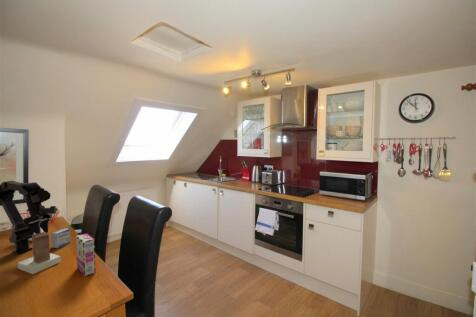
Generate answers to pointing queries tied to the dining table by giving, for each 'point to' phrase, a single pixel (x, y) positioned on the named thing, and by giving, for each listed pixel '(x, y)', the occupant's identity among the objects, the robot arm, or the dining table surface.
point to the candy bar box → (85, 254)
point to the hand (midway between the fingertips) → (43, 234)
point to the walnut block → (41, 247)
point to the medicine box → (60, 238)
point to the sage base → (33, 267)
